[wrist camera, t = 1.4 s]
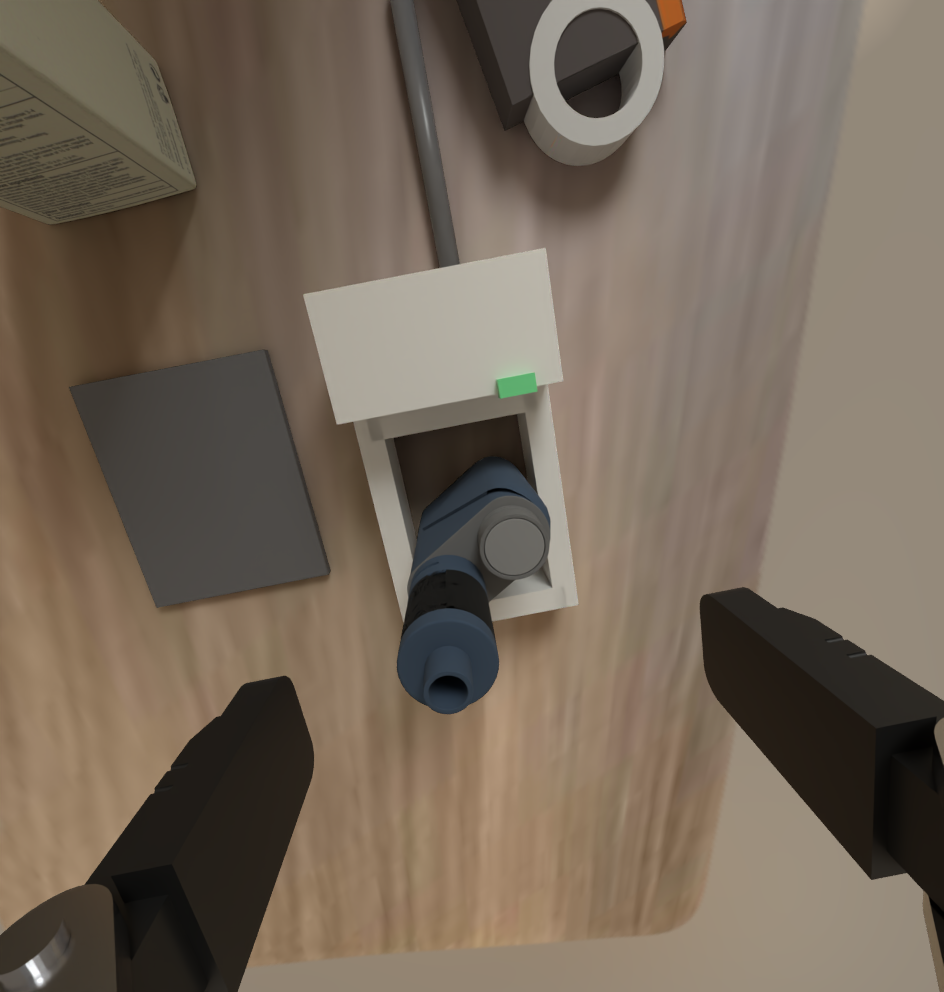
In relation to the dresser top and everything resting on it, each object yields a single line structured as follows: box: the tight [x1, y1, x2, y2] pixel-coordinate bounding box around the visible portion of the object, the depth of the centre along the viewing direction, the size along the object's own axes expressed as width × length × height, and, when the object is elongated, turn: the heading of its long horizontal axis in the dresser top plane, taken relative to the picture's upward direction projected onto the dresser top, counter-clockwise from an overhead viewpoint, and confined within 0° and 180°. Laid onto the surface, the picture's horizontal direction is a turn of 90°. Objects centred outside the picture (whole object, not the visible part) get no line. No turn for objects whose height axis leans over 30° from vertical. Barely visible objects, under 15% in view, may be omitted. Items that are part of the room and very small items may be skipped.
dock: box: [303, 0, 579, 624], centre depth 17 cm, size 24×8×5 cm, turn 11°
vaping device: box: [397, 456, 551, 714], centre depth 15 cm, size 3×5×12 cm, turn 133°
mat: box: [69, 350, 330, 608], centre depth 20 cm, size 10×8×1 cm
